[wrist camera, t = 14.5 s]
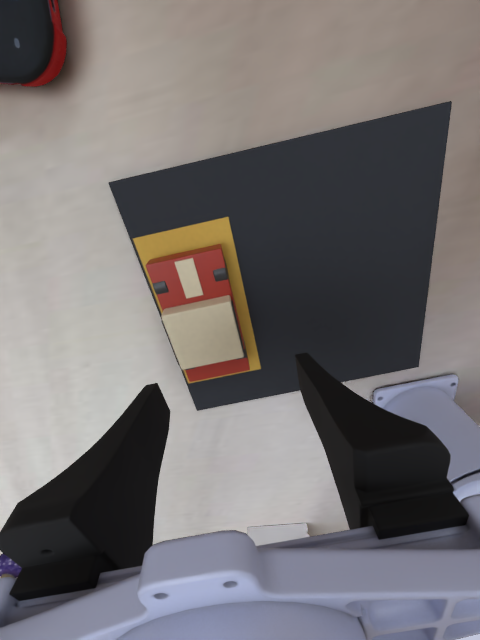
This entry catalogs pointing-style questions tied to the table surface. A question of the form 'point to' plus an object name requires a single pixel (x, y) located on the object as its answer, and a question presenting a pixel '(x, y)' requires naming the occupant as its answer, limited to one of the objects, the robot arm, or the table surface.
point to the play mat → (308, 245)
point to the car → (199, 312)
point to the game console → (30, 42)
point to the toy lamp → (8, 567)
